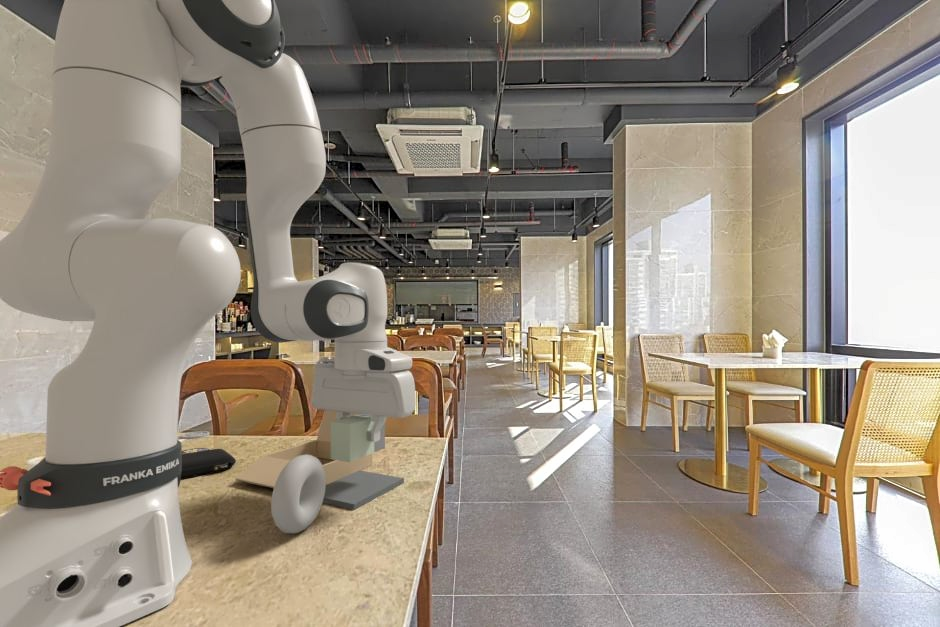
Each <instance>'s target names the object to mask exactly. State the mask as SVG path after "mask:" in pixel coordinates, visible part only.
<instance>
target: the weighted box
mask: <svg viewBox="0 0 940 627" xmlns="http://www.w3.org/2000/svg"><path fill="white" fill-rule="evenodd" d="M374 422H375V421H374ZM374 422H373V421H372V415H367V414H356V415H355V416H351V417H347V418H344V419H340V420H337V421H333V422H331V459H333V461H335V460H339V461H345V462H352V461H354V460H357V459H359V458H362V457H364V456H367V455H369V454H372V455H373V453H377V452H379V451H381V450H383V449H386V422H385V423H384V425H383V427H382V428H381V430H380V440H379V441H376V442H371V441H367V431H368V430H371V429H372V427H373V425H374ZM331 459H330V460H331Z"/></svg>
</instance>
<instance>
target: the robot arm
mask: <svg viewBox="0 0 940 627" xmlns="http://www.w3.org/2000/svg"><path fill="white" fill-rule="evenodd" d="M63 1H64V2H63V5H62V8H61V11H60V15H59V18H58V23H57V27H56V33H55V39H54V45H53V46H54V47H53V48H54V49H53V57H52V58H53V59H52V91H51V93H52V94H51V95H52V99H51V122H50V123H51V128H50V143H49V152H48V153H49V154H48V156H47V160H46V165H45V167H44V171H43V175H42V176H41V178H40V181H39V184H38V187H37V189H36V190H35V194H34V196H33V198H32V200H31V203H30V204H29V206H28V208H27V210H26V212H25V214H24V216H23V217H22V219H21V220H20V221H19V222H18V224H17V225H16V226H15V227H14V229H13V230H11V232H9V233H8V234H6V236H5V237H3V238H2V239H0V300H1V301H2V302H4V303H5V304H6V305H8V306H10V308H13V309H15V310H17V311H20V312H23V313H27V314H30V315H34V316H38V317H40V318H41V317H42V318H47V319H51V320H55V321H56V320H57V321H62V322H93V324H92V327H91V331H90V333H89V337H88V339H87V340H86V342H85V345H84V346H83V347H82V348H83V349H81V351H80V354H79V355H78V356H77V357H76V358H75V360H73V361H72V362H70V364H68V365H66V366H64V367H63V368H62V369H61V370H59V371H58V372H57V373H56V374H55V375H54V376H53V377H52V379H51V381H49V384H48V388H47V401H46V403H47V405H46V426H45V427H46V431H45V432H46V433H45V434H46V435H45V440H46V441H45V456H44V457H43V459H41V460H40V461H38V463H36V464H35V465H34V466H33V467H31V468H30V469H29V470H27V469H25V468H21V467H19V466H14V465H13V466H7V467H5V468H3V469H1V470H0V488H2V489H5V490H7V491H17V497H16V498H17V505H15V506H13V507H12V508H11V509H10V510H9V511H7V512H6V513H5V514H4V515H2V516H0V627H121V626H124V625H126V624H129V623H131V622H133V621H136V620H138V619H140V618H143V617H145V616H147V615H149V614H151V613H154V612H156V611H159V610H160V609H163V608H165V607H166V606H168V605H170V604H171V603H172V601H173V600H174V599H175V595H176V588H177V586H178V585H179V584H180V582H182V580H183V579H184V578H185V577H186V576H187V575H188V573H190V571H191V568H192V564H193V561H192V557H191V554H190V552H189V549H188V544H187V543H186V542H187V541H186V539H185V534H184V529H183V523H182V516H181V508H180V507H181V506H180V497H179V487H180V484H181V480H182V479H181V473H182V451H183V449H182V441H180V439H178V430H179V429H178V428H179V427H178V426H179V411H180V410H179V408H180V394H181V384H182V383H181V382H182V378H183V377H182V376H183V372H184V368H185V366H186V362H187V360H188V356H189V354H190V353H191V350H192V348H193V345H194V344H195V342H196V340H197V339H198V337H199V335H200V333H201V332H202V330H203V329H204V328H206V325H207V324H208V323H209V322H210V321H211V320H212V319H214V317H215V316H217V315H218V314H219V313H220V312H221V311H223V310H224V309H226V308H227V307H228V306H229V305H230V304H231V302H232V301H233V299H234V298H235V296H236V295H237V292H238V290H239V287H240V284H241V278H242V277H241V276H242V275H241V274H242V269H241V261H240V258H239V256H238V253H237V250H236V248H235V247H234V245H233V243H232V242H231V241H230V240H229V238H228V237H227V236H226V235H225V234H224V232H222V231H221V230H219V229H217V228H216V227H213V226H211V225H208V224H204V223H197V222H192V221H188V220H182V219H181V220H180V219H174V218H170V217H168V218H167V217H161V218H157V217H156V218H146V217H147V214H148V212H149V210H150V208H151V206H152V205H153V203H154V202H155V200H156V199H157V198H158V197H159V196H160V195H161V194H162V193H163V192H165V191H166V190H167V189H169V187H171V186H172V185H173V184H174V183H175V182H176V181H177V179H178V177H179V175H180V173H181V169H182V94H181V92H182V90H181V88H197V87H202V86H206V85H209V84H210V83H211V84H212V82H213V81H215V79H217V78H219V80H218V81H219V83H220V84H221V86H223V87H224V88H225V89H224V90H225V91H226V92H227V94H228V95H229V97H230V99H231V101H232V103H233V106H234V108H235V111H236V120H237V125H238V129H239V134H240V138H241V144H242V145H241V146H242V149H243V156H244V163H245V164H244V165H245V175H246V192H245V217H246V227H247V236H248V243H249V251H250V252H249V253H250V260H251V268H252V276H253V278H252V279H253V289H252V294H251V295H252V296H251V301H250V310H249V311H250V318H251V322H252V324H253V326H254V328H255V329H256V331H257V332H258V333H259V335H260V336H261V337H263V338H265V339H266V340H268V341H270V342H274V343H277V344H278V343H279V344H280V343H281V344H282V343H289V342H298V341H301V342H305V341H306V342H313V341H314V342H315V341H330V340H331V341H332V340H334V356H333V357H328V356H322V357H321V358H320V359H319V360H318V361H317V362H316V363H315V369H314V375H313V380H312V385H311V386H312V388H311V395H310V396H311V397H310V403H311V404H312V407H313V408H314V409H315V410H331V411H337V419H338V420H340V419H344V418H347V417H349V416H351V413H358V414H367V415H372V421H373V422H374V421H375V422H374V425H373V427H372V429H371V430H368V431H367V441H371V442H376V441H379V440H380V430H381V428H382V427H383V425H384V423H385V424H386V421H387V418H397V419H403V418H407V417H409V416H412V414H413V413H414V411H415V409H416V405H417V404H416V402H417V401H416V384H415V379H414V376H413V374H412V372H411V371H410V370H409V369H411V368H412V367H413V358H412V357H411V356H410V355H407V354H406V353H403V352H400V351H398V350H396V349H394V348H391V347H390V346H388V337H387V332H386V322H387V320H388V319H387V318H388V293H387V292H388V291H387V283H386V279H385V277H384V276H385V275H384V273H383V271H382V270H381V269H380V268H378V267H377V266H375V265H372V264H369V263H367V262H366V263H365V262H364V263H363V262H358V261H347V262H343V263H341V264H340V265H339V267H337V268H336V269H335V270H332V271H330V272H329V273H327V274H324V275H322V276H318V277H315V278H313V279H305V280H300V281H298V280H297V278H296V275H295V271H294V262H293V254H292V253H293V252H292V244H291V243H292V242H291V226H292V222H293V220H294V217H295V216H296V214H297V212H298V210H299V209H300V208H301V206H302V205H303V204H304V203H305V202H306V201H307V200H308V199H309V198H310V197H312V196H313V194H315V192H316V191H317V190H318V189H319V188H320V186H321V185H322V182H323V181H324V178H325V175H326V171H327V170H326V166H327V158H326V157H327V155H326V154H327V153H326V148H325V143H324V138H323V137H324V136H323V134H322V129H321V124H320V123H321V122H320V118H319V116H318V110H317V107H316V104H315V101H314V98H313V94H312V92H311V89H310V86H309V84H308V80H307V78H306V75H305V73H304V70H303V69H302V67H301V66H300V64H299V63H298V61H296V60H295V59H294V58H292V57H291V56H290V55H288V54H286V53H284V48H285V41H286V40H285V39H286V37H285V32H284V31H285V30H284V28H283V26H282V25H281V18H280V13H279V9H278V6H277V3H276V1H275V0H63Z"/></svg>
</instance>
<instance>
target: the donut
mask: <svg viewBox="0 0 940 627" xmlns="http://www.w3.org/2000/svg"><path fill="white" fill-rule="evenodd" d="M323 465H324V464H322V462H321V461H320V459H319V458H318V457H314V456H312V455H308V454H306V455H300V456H297V457H295V458H294V459H292V460H291V461H290V462H288V463H287V464H286V466H285V467H284V468H283V470H282V471H281V472H280V474H279V476H278V478H277V480H276V483H275V486H274V488H273V491H272V494H271V504H270V506H271V508H270V509H271V516H272V519H273V521H274V524H275V526H276V527H277V528H278V529H279V530H281V531H282V533H284V534H285V533H286V534H298V533H300V532H303V531H305V530H307V528H308V527H309V526H310V525H311V524H312V523H313V522H314V521H315V519H316V518H317V516H318V515H319V513H320V510H321V507H322V505H323V504H324V503H323V499H324V495H325V488H326V475H325V471H324V467H323Z"/></svg>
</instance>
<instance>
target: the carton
mask: <svg viewBox="0 0 940 627" xmlns="http://www.w3.org/2000/svg"><path fill="white" fill-rule="evenodd" d="M356 414H358V413H351V416H355V415H356ZM322 415H323V416H322V419H321V423H320V426H319V430H318V435H317V437H316V439H314V440H311V441H307V442H304V443H301V444H298V445H297V444H296V445H295V446H294V445H293V446H290V447H287V448H285V449H281V450H280V449H279V450H278V451H274V452H270V453H267V454H263V455H261V456H259V458H258V459H256V460H255V461H254V462H253V463H252V464H251V465H249V466H248V467H247V468H246V469H245V470H243V471H242V472H241V473H240V474H239V475H238V476H236V477H235V480H236V481H238V482H239V481H240V482H243V483H248V484H252V485H257V486H261V487H267V488H271V489H274V486H275V483H276V480H277V478H278V476H279V474H280V472H281V471H282V470H283V468H284V467H285V466H286V464H287V463H288V462H290V461H291V460H292V459H294V458H295V457H297V456H300V455H306V454H308V455H312V456H314V457H316V458H318V459H319V458H320V459H326V460H331V461H330V462H327V463H324V464H322V465H323V467H324V471H325V475H326V485H327V484H329V483H331V482H334V481H336V480H338V479H341V478H343V477H345V476H348V475H350V474H352V473H355V472H357V471H359V470H361V471H364V470H365V469H368V468H369V467H371V466H373V453H372V454H369V455H367V456H364V457H362V458H359V459H357V460H354V461H352V462H345V461H339V460H333V459H331V422H333V421H337V420H338V419H337V411H331V410H324V412H323V414H322ZM351 416H349V417H351ZM332 460H333V461H332Z"/></svg>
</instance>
